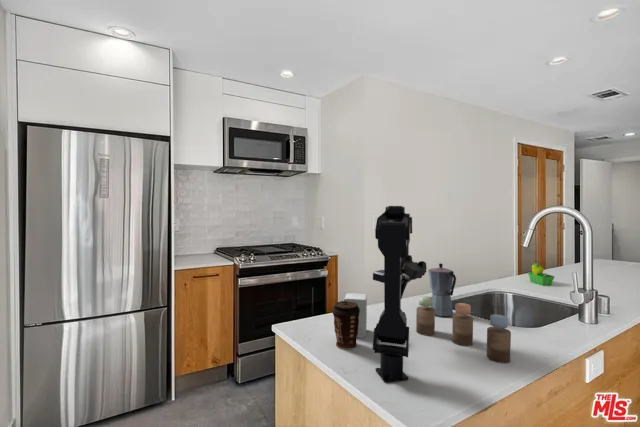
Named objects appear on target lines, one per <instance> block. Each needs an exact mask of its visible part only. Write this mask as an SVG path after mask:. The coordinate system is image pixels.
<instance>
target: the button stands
mask: <svg viewBox="0 0 640 427" xmlns="http://www.w3.org/2000/svg"><path fill="white" fill-rule="evenodd" d="M415 315H416V316H415V317H416V320H415V323H416V324H415V326H416V327H415V329H416V330H415V332H416V333H417V334H419V335H422V336H434V335H435V332H436V331H435V329H436V325H435V324H436V321H435V320H436V315H435V309H434V308H431V307H425V306H421V305H419V306H416V314H415ZM451 331H452V333H451V335H452V337H451V339H452V340H451V341H452V343H454V344H455V345H458V346H462V347H470V346H471V347H472V345H473V344H474V343H473V341H474V317H473V316H470V315H461V314H458V313H456V314H453V315H452V330H451ZM511 332H512V331H511V330H509V329H507V328H497V327H494V326H489V327H487V328H486V358H487V359H489V360H490V361H492V362H495V363H500V364H509V363H510V362H511V352H512V351H511V343H512V342H511V341H512V340H511V338H512V333H511Z"/></svg>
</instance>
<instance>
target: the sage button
mask: <svg viewBox="0 0 640 427" xmlns="http://www.w3.org/2000/svg"><path fill="white" fill-rule="evenodd" d="M418 305H419V306H425V307H430V306H432V305H433V298H432V296H428V295H420V296H419V297H418Z"/></svg>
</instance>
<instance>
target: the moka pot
mask: <svg viewBox="0 0 640 427" xmlns="http://www.w3.org/2000/svg"><path fill="white" fill-rule="evenodd" d="M443 265H444V264H443V263H438V267H432V268H431V267H430V269H428V270H427V271H428V277H429V284H430V289H431V297H432V298H433V305H432V306H430V307H431V308H434V309H435V316H439V317H453V315H454V311H453V304H452V298H451V297H452V296H453V295H454V289H455V286H456V283H457V282H456V281H457V277H456V275H455V273H454V271H453V270H451V269H448V268H446V267H443Z"/></svg>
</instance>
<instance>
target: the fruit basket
mask: <svg viewBox="0 0 640 427" xmlns="http://www.w3.org/2000/svg"><path fill="white" fill-rule="evenodd" d="M544 271H545V270H544V267H542V265H540V264H539V263H538V262H537V263H533V264H532V266H531V271H530V272H529V271H528V272H527V274H528V277H529V280H530V282H531V283H534V284H536V285H539V286H552V284H553V281H554V279H555V276H554V275H551V274H548V273H547V272H544Z"/></svg>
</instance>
